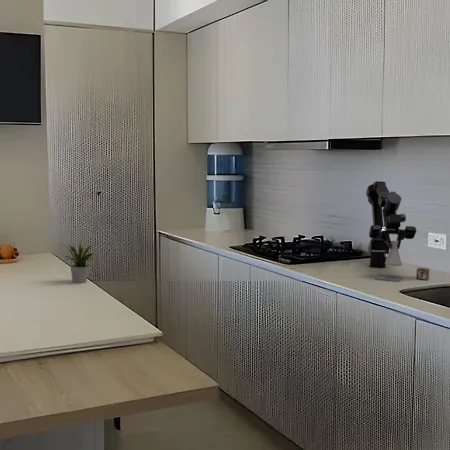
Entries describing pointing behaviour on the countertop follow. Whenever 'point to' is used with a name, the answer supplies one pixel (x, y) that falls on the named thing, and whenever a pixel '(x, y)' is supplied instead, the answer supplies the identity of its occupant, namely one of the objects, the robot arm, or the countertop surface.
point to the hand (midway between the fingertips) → (394, 248)
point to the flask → (393, 255)
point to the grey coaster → (387, 277)
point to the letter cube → (422, 274)
